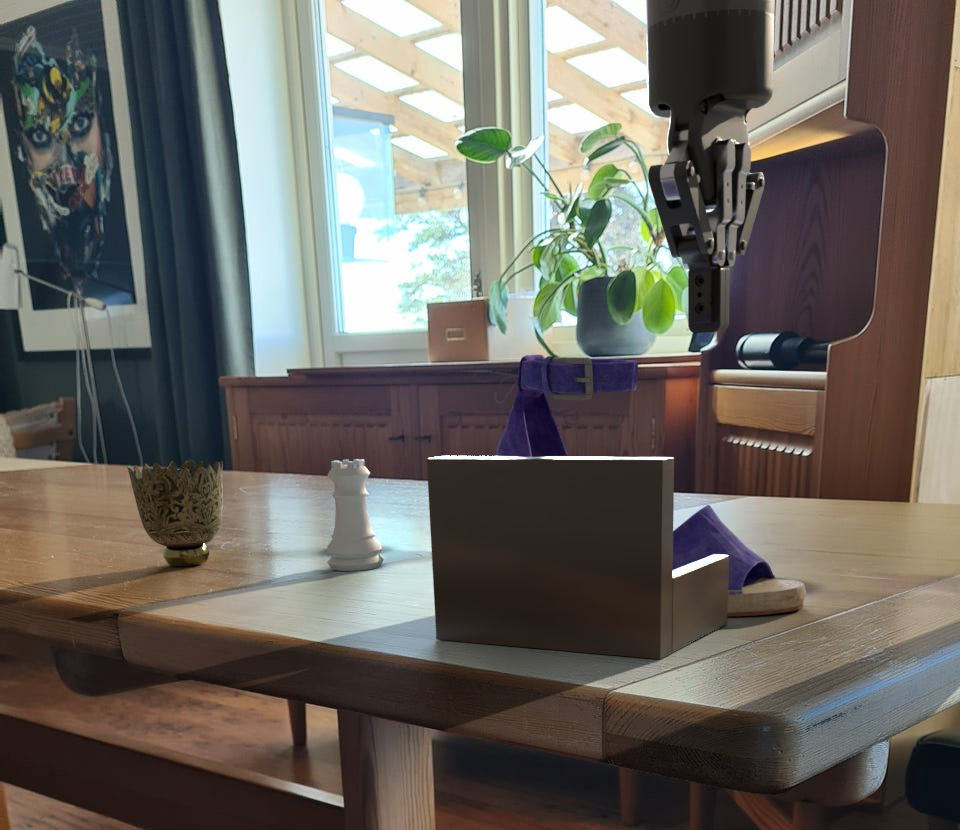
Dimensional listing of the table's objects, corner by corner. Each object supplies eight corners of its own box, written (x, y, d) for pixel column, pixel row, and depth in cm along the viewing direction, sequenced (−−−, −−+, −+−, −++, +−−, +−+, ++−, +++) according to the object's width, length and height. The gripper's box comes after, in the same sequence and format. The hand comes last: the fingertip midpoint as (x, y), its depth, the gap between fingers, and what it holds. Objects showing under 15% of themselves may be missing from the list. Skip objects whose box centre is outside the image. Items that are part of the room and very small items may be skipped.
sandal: (771, 626, 73) (782, 344, 68) (480, 603, 84) (469, 357, 78) (819, 601, 80) (833, 341, 74) (543, 583, 90) (537, 354, 84)
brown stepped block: (518, 609, 81) (513, 444, 78) (727, 624, 74) (732, 444, 71) (436, 639, 74) (426, 458, 70) (660, 659, 67) (662, 459, 63)
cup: (251, 561, 106) (240, 460, 103) (176, 574, 101) (163, 468, 98) (197, 555, 110) (185, 458, 107) (123, 567, 105) (109, 466, 102)
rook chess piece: (353, 573, 97) (345, 464, 94) (315, 569, 100) (306, 462, 97) (396, 565, 100) (389, 458, 97) (357, 561, 103) (350, 457, 100)
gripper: (725, -13, 69) (722, 332, 76) (809, 23, 79) (800, 325, 86) (602, 13, 73) (609, 339, 80) (697, 44, 83) (697, 331, 90)
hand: (708, 331), depth 83 cm, fingers closed
